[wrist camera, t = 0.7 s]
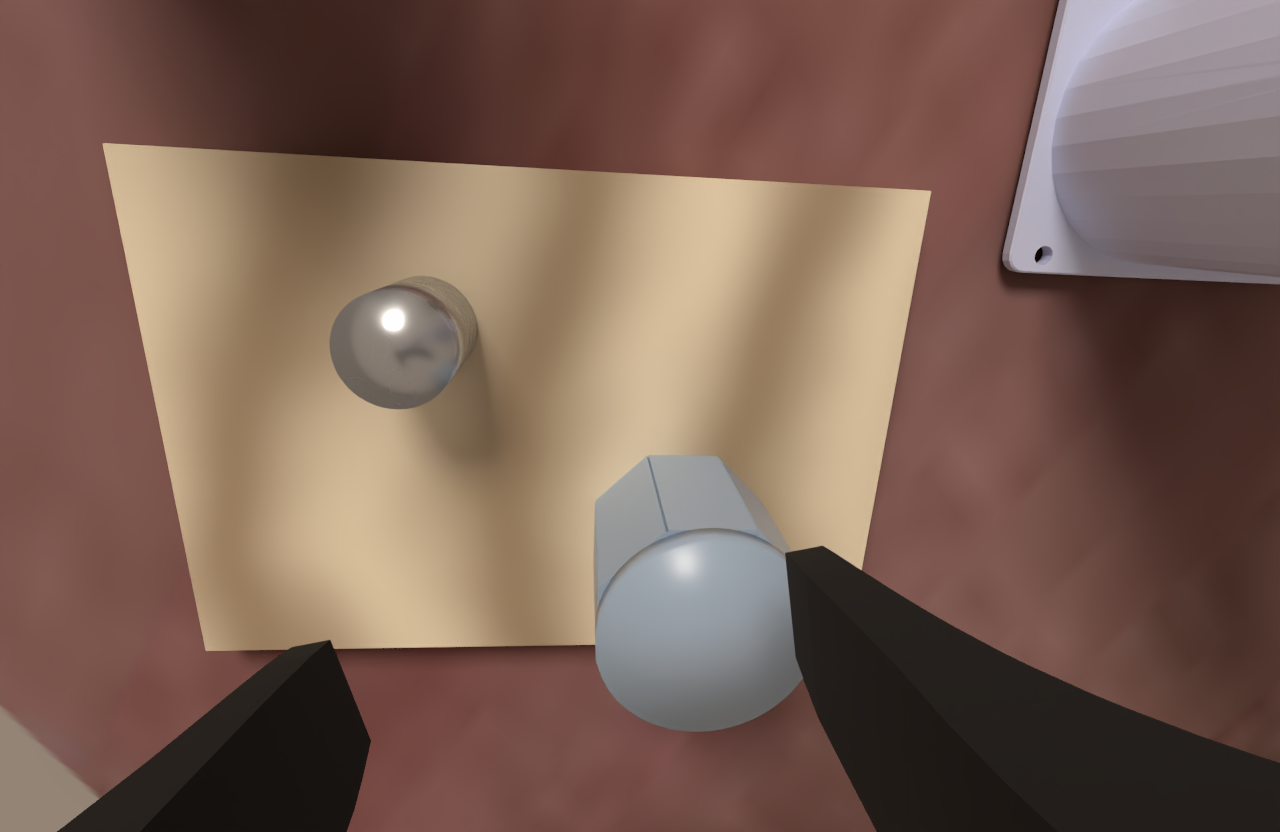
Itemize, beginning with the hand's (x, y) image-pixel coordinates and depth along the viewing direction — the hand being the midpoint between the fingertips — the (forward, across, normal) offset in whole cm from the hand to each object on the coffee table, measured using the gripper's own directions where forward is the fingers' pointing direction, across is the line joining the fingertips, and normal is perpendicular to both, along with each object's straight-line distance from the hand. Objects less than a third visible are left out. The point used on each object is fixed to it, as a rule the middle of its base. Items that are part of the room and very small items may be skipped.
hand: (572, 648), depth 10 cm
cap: (+8, -2, +3) cm, 9 cm away
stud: (+8, +3, -4) cm, 10 cm away
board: (+10, +1, -1) cm, 10 cm away
